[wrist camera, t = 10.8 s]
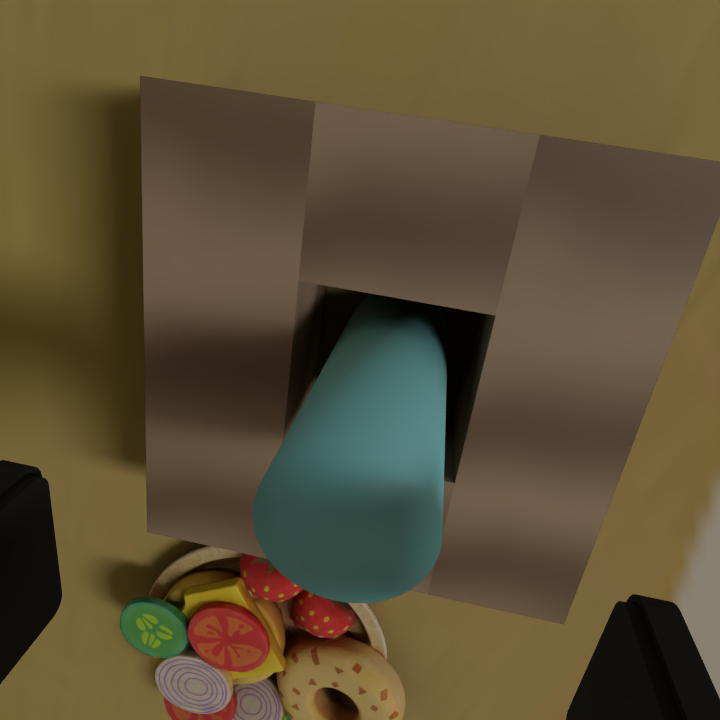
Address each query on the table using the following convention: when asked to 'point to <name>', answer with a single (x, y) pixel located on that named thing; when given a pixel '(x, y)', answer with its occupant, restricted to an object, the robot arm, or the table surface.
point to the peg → (364, 461)
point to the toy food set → (259, 645)
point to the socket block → (415, 283)
